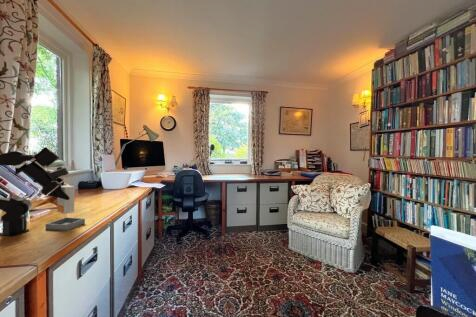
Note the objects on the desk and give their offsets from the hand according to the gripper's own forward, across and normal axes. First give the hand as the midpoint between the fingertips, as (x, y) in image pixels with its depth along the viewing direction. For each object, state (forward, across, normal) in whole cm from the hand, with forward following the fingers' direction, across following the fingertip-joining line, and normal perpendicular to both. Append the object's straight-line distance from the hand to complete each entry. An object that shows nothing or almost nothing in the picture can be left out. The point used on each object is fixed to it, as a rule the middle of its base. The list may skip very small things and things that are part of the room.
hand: (69, 197), depth 102 cm
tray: (+8, 0, +10) cm, 13 cm away
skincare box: (+4, 0, +6) cm, 7 cm away
